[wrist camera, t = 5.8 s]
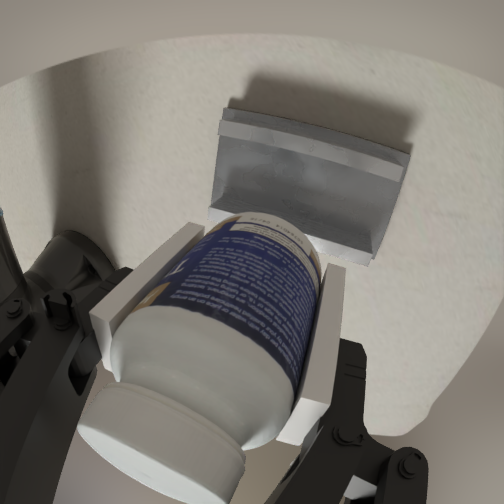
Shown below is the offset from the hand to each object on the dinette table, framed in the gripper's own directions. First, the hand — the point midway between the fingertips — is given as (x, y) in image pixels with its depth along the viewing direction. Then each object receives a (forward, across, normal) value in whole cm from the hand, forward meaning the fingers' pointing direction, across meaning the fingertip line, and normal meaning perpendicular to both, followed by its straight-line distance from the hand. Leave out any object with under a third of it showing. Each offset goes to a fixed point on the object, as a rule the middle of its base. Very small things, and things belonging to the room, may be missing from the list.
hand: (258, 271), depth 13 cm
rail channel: (+15, 0, 0) cm, 15 cm away
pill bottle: (+1, 0, 0) cm, 1 cm away
